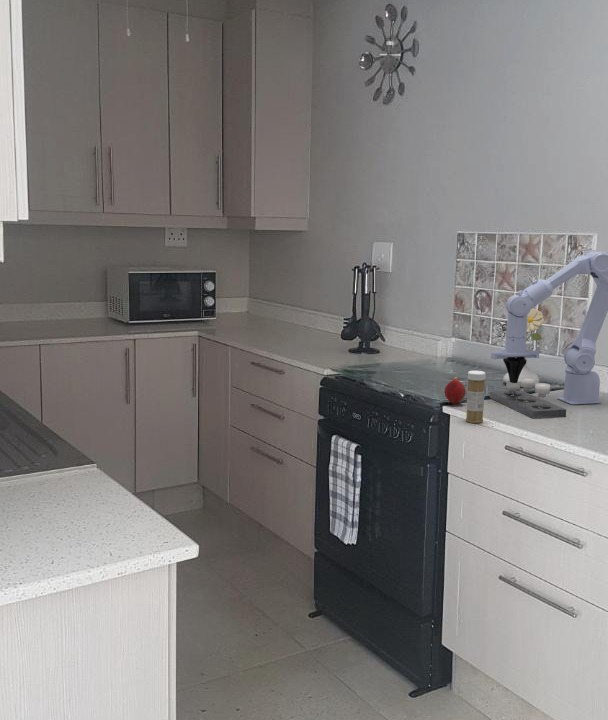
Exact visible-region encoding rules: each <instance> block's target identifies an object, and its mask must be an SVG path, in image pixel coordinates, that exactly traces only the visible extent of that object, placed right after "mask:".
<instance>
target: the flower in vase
mask: <svg viewBox="0 0 608 720" xmlns="http://www.w3.org/2000/svg"><path fill="white" fill-rule="evenodd" d="M543 314H544V313H543V312H541V310H540V311H539V310H538V309H537V308H535V307H533V308H531V310H530V312H529V314H527V333H529V332H530V334H529V336H528V337H526V350H529V348H530V346H531V345H532V342H531V341H528V340H529V339H530V337H531V339H532V340H533V341H541V340H543V337H542V335H541V334H540V333H539V332H534V333H533V331H537V330H539V329H540V327H541V326H542V325H543V322H544V321H545V319H544V315H543ZM525 359H526V360H527V358H525ZM523 377H529V378H534V379H535V384H536V383H540V382H541V380H540V378H539V376H538V375H537V374H536V373H534V371H533V370H531V369H530V368H529V366H528V364H527V363H526V364H525V366H524V367H523V369H522V371H521V373H520V375H519V378H518V382H520V381H521V378H523ZM502 380H503V381H504V382H505V383H506V382H507V381H510V380H509V374H508V372H507V373H505V374H504V375H503V377H502Z"/></svg>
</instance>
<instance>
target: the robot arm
mask: <svg viewBox="0 0 608 720" xmlns="http://www.w3.org/2000/svg"><path fill="white" fill-rule="evenodd" d="M588 274H589V275H590V276H591V277H592V279H593V281H594V284H596V288H595V291H594V293H593V296H592V298H591V301H590V304H589V305H588V309H587V312H586V315H585V317H584V320H583V322H582V324H581V327H580V330H579V333H578V335H577V337H576V338H574V340H573V341H572V343H571V345H570V347H569V348H568V349H567V350H566V351H565V353H564V355H563V360H564V363H565V364H566V365H567V366H566V368H565V373H564V386H563V387H564V388H563V396H557V399H558V400H560V401H561V402H565V403H567V404H570V405H573V406H574V405H589V404H600V403H601V401H600V400H599V399H600V387H601V378H600V375H599V374H598V373H597V372H596V371H593V369H594V367H595V364H596V360H595V359H596V358H595V356H596V353H597V345H596V344H597V340H598V337H599V334H600V332H601V330H602V327H603V325H604V322H605V320H606V317H607V314H608V252H606V251H599V250H595V249H594V250H593V249H592V250H588V251H586V252H585V253H584V254H581V255H579V256H577V257H576V258H575V259H573V260H572V261H571V262H569V263H568V264H566V265H565V266H564V267H562V268H561V269H559V270H558V271H557V272H555V273H554V274H552V275H551V276H550V277H549V278H547V279H542V278H539V279H538V280H537V279H534V280H533V281H532V282H531V283H532V284H531V285H528V286H527V287H526V288H524V289H523V290H522V289H520V290H518V292H517V293H518V294H514V295H511V296H510V297H509V298H508V299H507V301H506V303H505V309H506V311H507V321H506V328H505V329H506V332H505V349H504V350H497V351H491V352H490V359H491V360H495V361H496V360H502V361H503V363H504V365H505V367H506V369H507V373H508V374H509V380H510V382H511V383H517V382H518V378H519V375H520V373H521V371H522V369H523V367H524V366H525V364H527V361H528V360H527V359H530V358H531V359H532V358H533V359H540V351H538V350H529V349H528V350H526V338H527V333H528V332H527V314H529V312H530V310H531V309H532V308H535V307H537V306H539V304H541V303H542V302H544V301H545V300H547V299H548V298H550V297H551V296H552V295H553V291H554V289H556V288H558V287H559V286H561V285H562V284H564V283H566V282H568V281H569V280H570V279H572V278H574V277H576V276H577V275H588ZM525 358H526V359H525Z"/></svg>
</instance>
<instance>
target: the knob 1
mask: <svg viewBox="0 0 608 720" xmlns="http://www.w3.org/2000/svg"><path fill="white" fill-rule="evenodd" d="M505 383H506V384H505V385H506V386H505V387H506V388H505V391H509V394H516V392H517V391H520V390H521V386H520V382H517V383H511V382H510V381H507V382H505Z"/></svg>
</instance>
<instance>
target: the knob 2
mask: <svg viewBox="0 0 608 720" xmlns="http://www.w3.org/2000/svg"><path fill="white" fill-rule="evenodd" d="M534 393H535V394H537V395H538V396H537V397H538V398H541V399H543V398H547V397H546V395H549V394H551V384H549V383H544V382H539V383H536V384H535V387H534Z"/></svg>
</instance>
